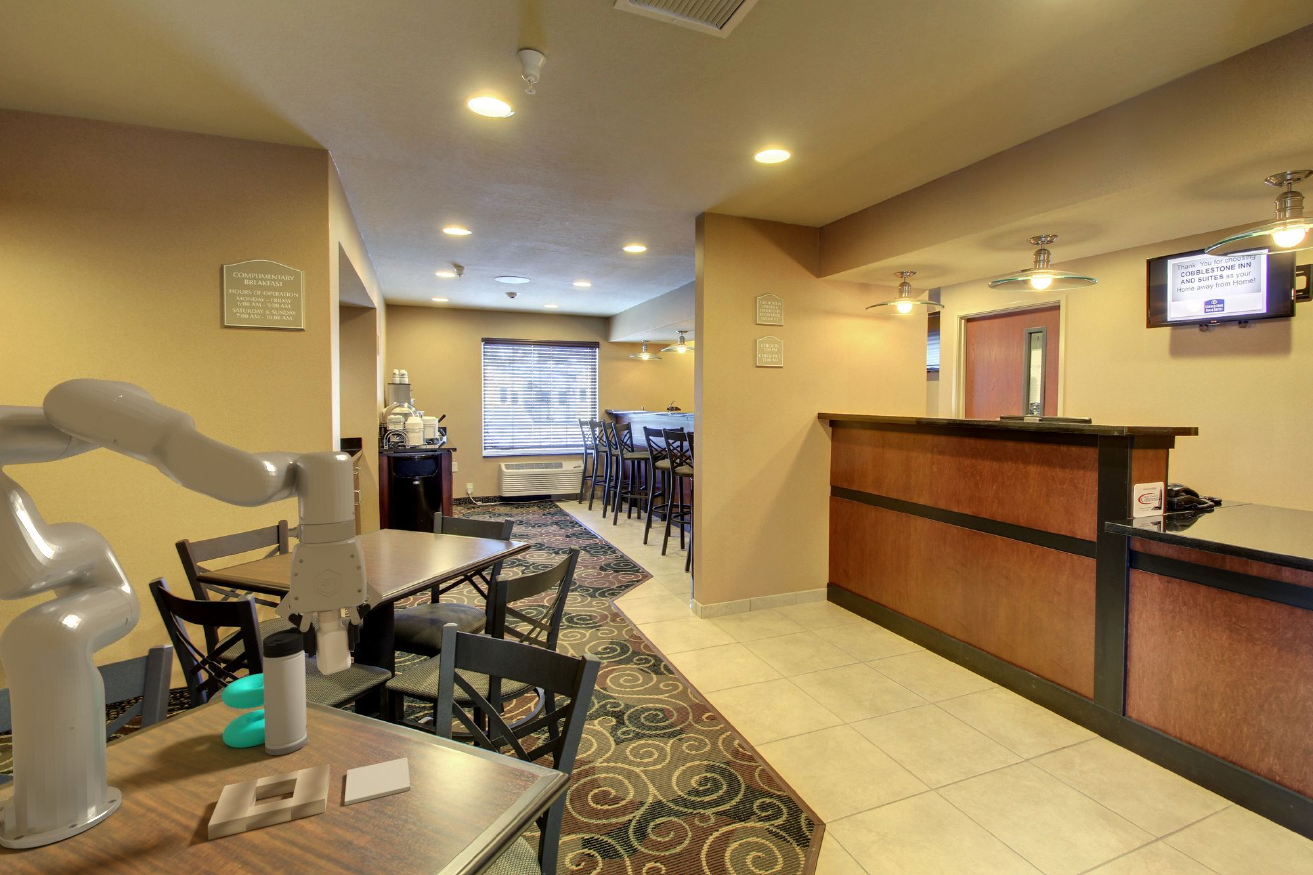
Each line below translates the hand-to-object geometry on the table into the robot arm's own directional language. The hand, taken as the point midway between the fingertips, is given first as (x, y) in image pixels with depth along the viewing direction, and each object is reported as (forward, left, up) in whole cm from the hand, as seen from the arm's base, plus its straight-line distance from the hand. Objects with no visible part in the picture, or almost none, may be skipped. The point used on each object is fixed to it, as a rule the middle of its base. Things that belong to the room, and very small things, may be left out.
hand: (332, 650), depth 93 cm
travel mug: (-8, +19, -22) cm, 30 cm away
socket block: (-8, 0, -22) cm, 23 cm away
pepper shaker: (0, 0, -3) cm, 3 cm away
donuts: (-14, +25, -22) cm, 36 cm away
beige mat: (+6, 0, -22) cm, 23 cm away
